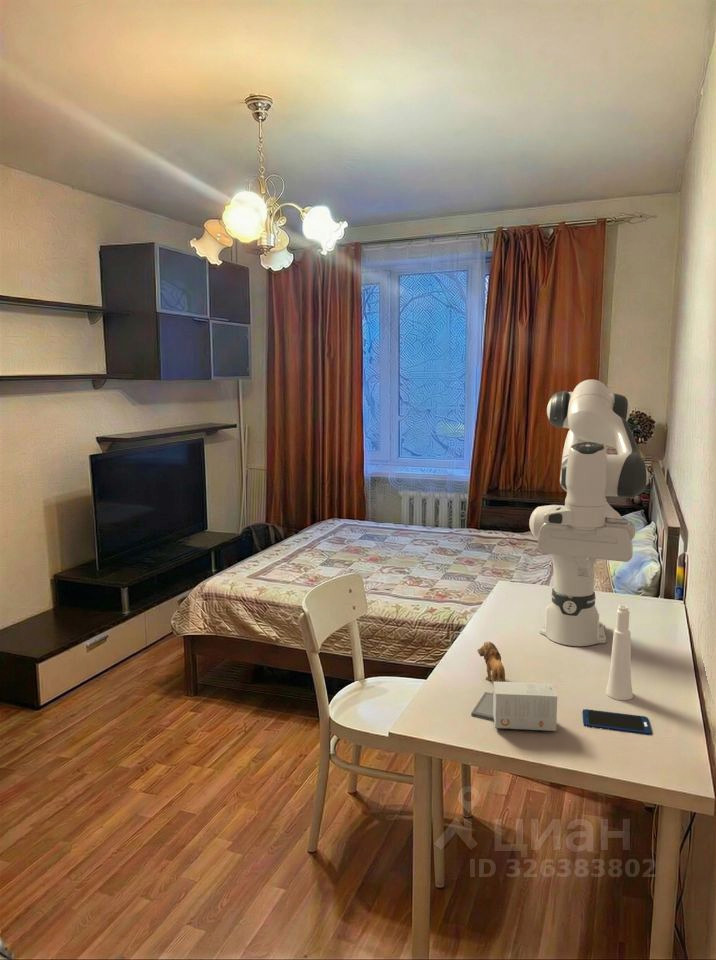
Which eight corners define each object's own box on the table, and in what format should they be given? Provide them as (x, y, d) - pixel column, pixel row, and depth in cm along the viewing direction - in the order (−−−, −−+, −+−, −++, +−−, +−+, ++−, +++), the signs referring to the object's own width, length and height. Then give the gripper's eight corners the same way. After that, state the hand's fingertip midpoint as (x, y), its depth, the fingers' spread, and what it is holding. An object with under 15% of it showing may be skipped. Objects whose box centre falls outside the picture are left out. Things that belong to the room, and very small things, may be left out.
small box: (552, 682, 145) (493, 680, 146) (558, 696, 138) (495, 693, 140) (551, 716, 146) (492, 714, 147) (556, 732, 140) (494, 728, 141)
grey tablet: (485, 694, 158) (485, 691, 158) (550, 708, 151) (550, 705, 151) (471, 715, 148) (471, 712, 148) (540, 731, 141) (540, 728, 141)
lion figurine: (475, 672, 170) (475, 639, 168) (495, 670, 170) (495, 638, 169) (496, 699, 155) (496, 664, 154) (517, 697, 156) (517, 662, 155)
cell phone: (652, 736, 139) (652, 733, 139) (583, 727, 143) (583, 724, 143) (648, 719, 146) (648, 716, 146) (582, 711, 150) (582, 708, 150)
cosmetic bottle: (623, 687, 160) (627, 601, 157) (638, 699, 154) (642, 610, 151) (600, 689, 159) (604, 603, 156) (614, 701, 153) (618, 612, 150)
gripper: (636, 516, 143) (633, 577, 145) (542, 509, 153) (540, 567, 155) (634, 522, 138) (631, 585, 140) (536, 515, 147) (534, 574, 149)
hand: (583, 575), depth 147 cm, fingers closed
